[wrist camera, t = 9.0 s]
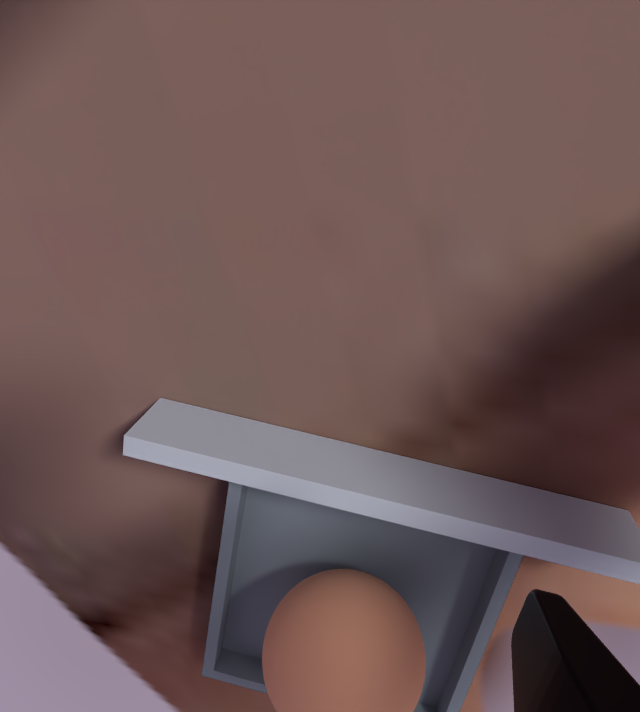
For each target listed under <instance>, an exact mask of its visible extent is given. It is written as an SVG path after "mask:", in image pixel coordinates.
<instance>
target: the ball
mask: <svg viewBox="0 0 640 712" xmlns="http://www.w3.org/2000/svg"><path fill="white" fill-rule="evenodd" d="M262 668H263V677H264V682H265V686H266V689H267V693H268V696H269V698H270V700H271V703H272V705H273V707H274V709H275V711H276V712H413V711H414V710H415V708H416V706H417V703H418V701H419V698H420V695H421V692H422V689H423V684H424V679H425V668H426V657H425V648H424V641H423V638H422V634H421V631H420V627H419V625H418V623H417V621H416V618H415V616H414V614H413V612H412V611H411V609H410V608H409V606H408V605H407V603H406V602H405V600H404V599H403V598H402V597H401V596H400V595H399V593H397V592H396V591H395V590H394V589H393V588H392V587H391V586H390V585H388V584H387V583H385V582H384V581H383V580H381V579H379V578H377V577H375V576H373V575H371V574H368V573H365V572H362V571H358V570H353V569H332V570H326V571H322V572H319V573H316V574H314V575H312V576H310V577H308V578H306V579H304V580H302V581H301V582H300V583H298V584H297V585H296V586H294V587H293V588H292V589H291V590H290V591H289V592H288V593H287V594H286V595H285V596H284V598H283V599H282V600H281V602H280V603H279V604H278V606H277V607H276V609H275V611H274V613H273V615H272V617H271V619H270V621H269V624H268V627H267V630H266V633H265V637H264V643H263V650H262Z"/></svg>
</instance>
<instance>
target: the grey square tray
mask: <svg viewBox="0 0 640 712" xmlns="http://www.w3.org/2000/svg"><path fill="white" fill-rule="evenodd" d="M522 558H523V555H521V554H517V553H513V552H509V551H505V550H501V549H497V548H493V547H489V546H485V545H481V544H477V543H473V542H469V541H465V540H461V539H457V538H453V537H449V536H445V535H441V534H437V533H433V532H429V531H425V530H421V529H417V528H413V527H409V526H405V525H401V524H397V523H393V522H389V521H385V520H381V519H377V518H373V517H369V516H365V515H361V514H357V513H353V512H349V511H345V510H341V509H337V508H333V507H329V506H325V505H321V504H317V503H313V502H309V501H305V500H301V499H297V498H293V497H289V496H285V495H281V494H277V493H273V492H269V491H265V490H261V489H257V488H253V487H249V486H245V485H241V484H237V483H233V482H229V487H228V494H227V501H226V508H225V515H224V522H223V529H222V536H221V543H220V550H219V557H218V564H217V571H216V578H215V585H214V592H213V599H212V606H211V613H210V620H209V627H208V634H207V641H206V648H205V655H204V662H203V669H202V676H205V677H209V678H212V679H216V680H220V681H223V682H227V683H230V684H234V685H238V686H241V687H245V688H248V689H252V690H256V691H259V692H263V693H266V694H268V693H267V689H266V686H265V682H264V677H263V668H262V650H263V643H264V637H265V633H266V630H267V627H268V624H269V621H270V619H271V617H272V615H273V613H274V611H275V609H276V607H277V606H278V604H279V603H280V602H281V600H282V599H283V598H284V596H285V595H286V594H287V593H288V592H289V591H290V590H291V589H292V588H293V587H294V586H296V585H297V584H298V583H300V582H301V581H302V580H304V579H306V578H308V577H310V576H312V575H314V574H316V573H319V572H322V571H326V570H332V569H353V570H358V571H362V572H365V573H368V574H371V575H373V576H375V577H377V578H379V579H381V580H383V581H384V582H385V583H387V584H388V585H390V586H391V587H392V588H393V589H394V590H395V591H396V592H397V593H399V595H400V596H401V597H402V598H403V599H404V600H405V602H406V603H407V605H408V606H409V608H410V609H411V611H412V612H413V614H414V616H415V618H416V621H417V623H418V625H419V627H420V631H421V634H422V638H423V641H424V648H425V657H426V668H425V679H424V684H423V689H422V692H421V695H420V698H419V701H418V703H417V706H416V708H415V710H414V711H413V712H460V710H461V707H462V705H463V702H464V700H465V697H466V695H467V692H468V690H469V688H470V685H471V683H472V680H473V678H474V675H475V673H476V670H477V668H478V665H479V663H480V661H481V658H482V656H483V653H484V651H485V648H486V646H487V643H488V641H489V639H490V636H491V634H492V631H493V629H494V626H495V624H496V621H497V619H498V617H499V614H500V612H501V609H502V607H503V604H504V602H505V599H506V597H507V594H508V592H509V590H510V587H511V585H512V582H513V580H514V577H515V575H516V572H517V570H518V568H519V565H520V563H521V560H522Z"/></svg>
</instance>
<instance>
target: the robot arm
mask: <svg viewBox="0 0 640 712" xmlns="http://www.w3.org/2000/svg"><path fill="white" fill-rule="evenodd" d="M511 644H512V645H511V647H512V670H513V694H514V712H640V685H639V684H638V683H637V682H636V680H635V679H634V678H633V677H632V676H631V675H630V674H629V673H628V671H627V670H626V669H625V668H624V667H623V666H622V664H621V663H620V662H619V661H618V660H617V659H616V658H615V656H614V655H613V654H612V653H611V652H610V651H609V650H608V648H607V647H606V646H605V645H604V644H603V643H602V642H601V640H600V639H599V638H598V637H597V636H596V635H595V634H594V632H593V631H592V630H591V629H590V628H589V627H588V626H587V624H586V623H585V622H584V621H583V620H582V619H581V617H580V616H579V615H578V614H577V613H576V612H575V611H574V609H573V608H572V607H571V606H570V605H569V604H568V603H567V601H566V600H565V599H564V598H563V597H561V596H560V595H558V594H554V593H550V592H546V591H542V590H538V589H534V590H532V591H530V593H529V594H528V596H527V598H526V600H525V603H524V605H523V607H522V610H521V612H520V615H519V617H518V619H517V622H516V624H515V626H514V629H513V634H512V642H511Z"/></svg>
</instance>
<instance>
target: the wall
mask: <svg viewBox="0 0 640 712" xmlns="http://www.w3.org/2000/svg"><path fill="white" fill-rule="evenodd" d="M123 455H125V456H129V457H133V458H137V459H141V460H145V461H149V462H153V463H157V464H161V465H165V466H169V467H173V468H177V469H181V470H185V471H189V472H193V473H197V474H201V475H205V476H209V477H213V478H217V479H221V480H225V481H229V482H233V483H237V484H241V485H245V486H249V487H253V488H257V489H261V490H265V491H269V492H273V493H277V494H281V495H285V496H289V497H293V498H297V499H301V500H305V501H309V502H313V503H317V504H321V505H325V506H329V507H333V508H337V509H341V510H345V511H349V512H353V513H357V514H361V515H365V516H369V517H373V518H377V519H381V520H385V521H389V522H393V523H397V524H401V525H405V526H409V527H413V528H417V529H421V530H425V531H429V532H433V533H437V534H441V535H445V536H449V537H453V538H457V539H461V540H465V541H469V542H473V543H477V544H481V545H485V546H489V547H493V548H497V549H501V550H505V551H509V552H513V553H517V554H521V555H525V556H529V557H533V558H537V559H541V560H545V561H549V562H553V563H557V564H561V565H565V566H569V567H573V568H577V569H581V570H585V571H589V572H593V573H597V574H601V575H605V576H609V577H613V578H617V579H621V580H625V581H629V582H633V583H637V584H640V530H639V528H638V526H637V524H636V522H635V521H634V519H633V517H632V515H631V514H630V512H629V510H625V509H620V508H616V507H612V506H608V505H604V504H600V503H596V502H591V501H587V500H583V499H579V498H575V497H571V496H566V495H562V494H558V493H554V492H550V491H546V490H542V489H537V488H533V487H529V486H525V485H521V484H517V483H512V482H508V481H504V480H500V479H496V478H492V477H488V476H483V475H479V474H475V473H471V472H467V471H463V470H458V469H454V468H450V467H446V466H442V465H438V464H434V463H429V462H425V461H421V460H417V459H413V458H409V457H404V456H400V455H396V454H392V453H388V452H384V451H380V450H375V449H371V448H367V447H363V446H359V445H355V444H350V443H346V442H342V441H338V440H334V439H330V438H325V437H321V436H317V435H313V434H309V433H305V432H301V431H296V430H292V429H288V428H284V427H280V426H276V425H271V424H267V423H263V422H259V421H255V420H251V419H247V418H242V417H238V416H234V415H230V414H226V413H222V412H217V411H213V410H209V409H205V408H201V407H197V406H193V405H188V404H184V403H180V402H176V401H172V400H168V399H163V398H160V399H159V400H158V401H157V402H156V403H155V404H154V405H153V406H152V407H151V408H150V409H149V410H148V411H147V412H146V413H145V414H144V415H143V416H142V417H141V418H140V419H139V420H138V421H137V422H136V423H135V424H134V425H133V426H132V428H131V429H130V430H129V431H128V432H127V433H126V434H125V435H124V444H123Z"/></svg>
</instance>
